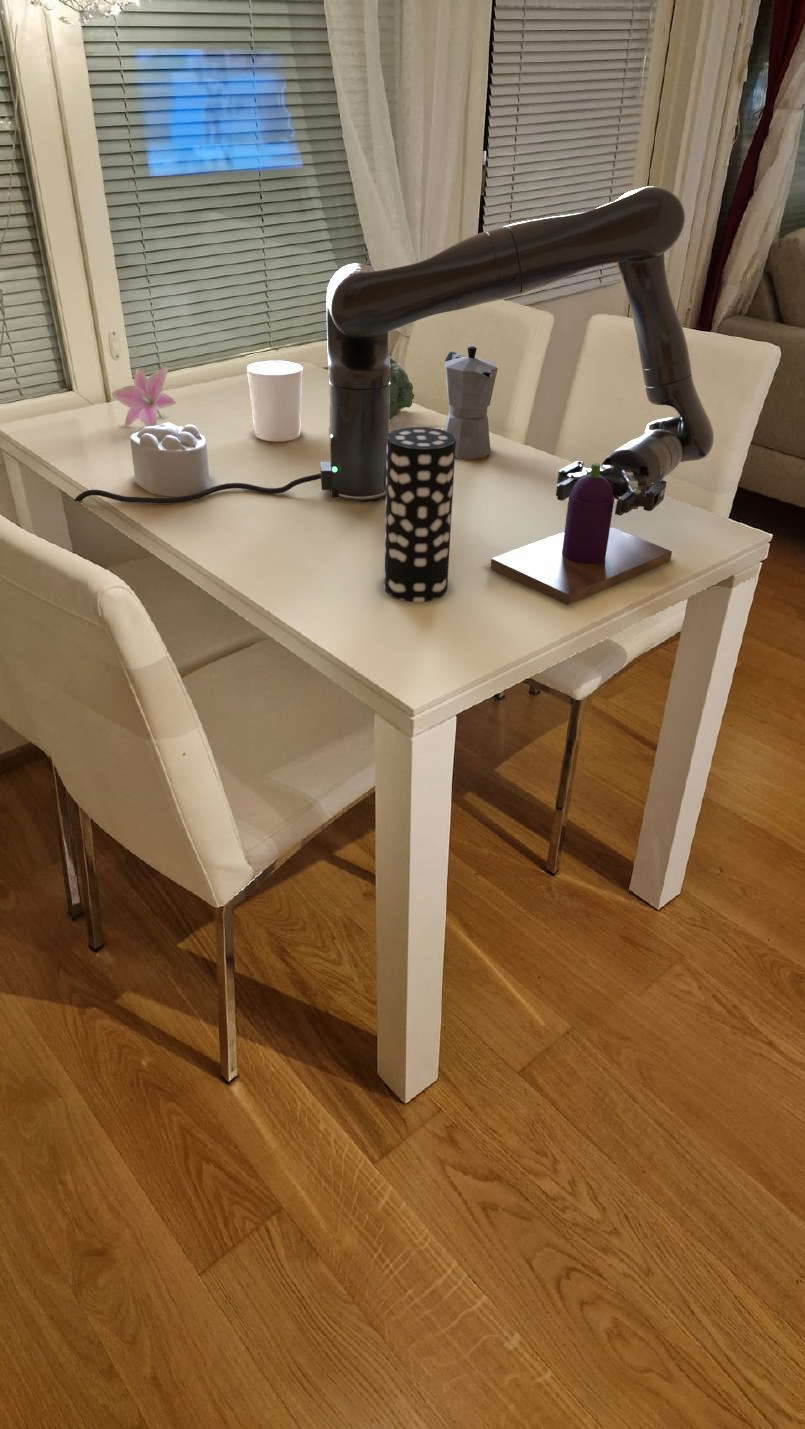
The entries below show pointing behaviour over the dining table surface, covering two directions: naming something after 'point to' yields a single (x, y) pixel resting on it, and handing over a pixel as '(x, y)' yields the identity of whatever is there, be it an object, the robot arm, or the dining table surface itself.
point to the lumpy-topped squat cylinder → (170, 460)
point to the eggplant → (588, 518)
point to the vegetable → (399, 389)
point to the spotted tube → (418, 512)
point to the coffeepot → (469, 402)
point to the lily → (144, 397)
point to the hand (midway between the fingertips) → (588, 500)
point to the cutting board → (579, 566)
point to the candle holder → (276, 399)
